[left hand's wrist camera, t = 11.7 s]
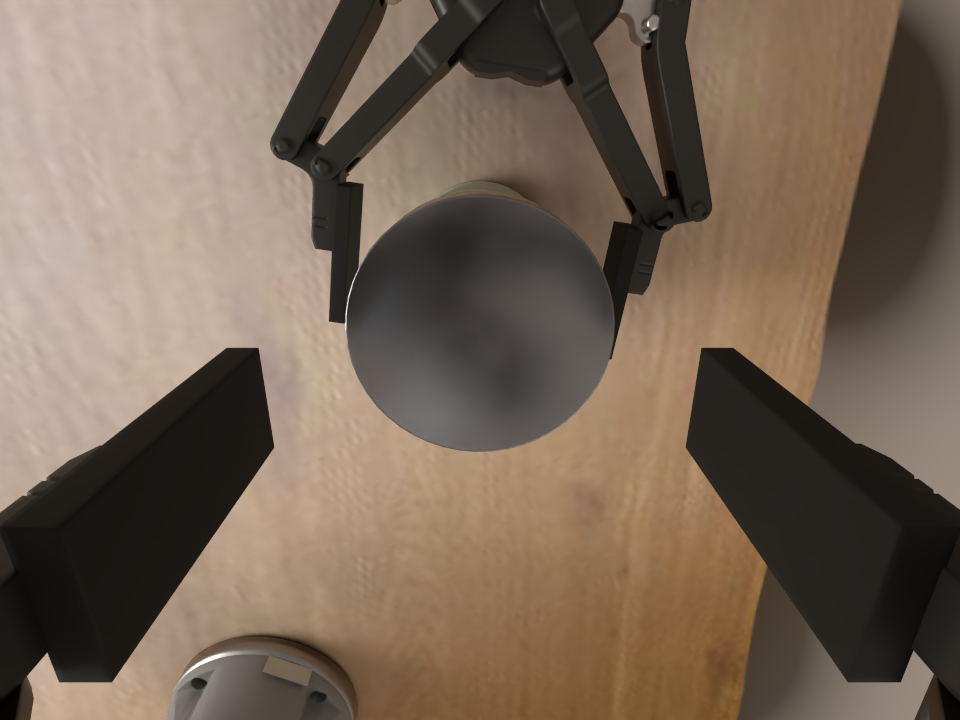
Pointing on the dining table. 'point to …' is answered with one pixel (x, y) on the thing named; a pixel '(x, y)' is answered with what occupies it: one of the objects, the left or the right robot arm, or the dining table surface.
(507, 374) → the lid
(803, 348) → the dining table surface
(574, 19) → the right robot arm
